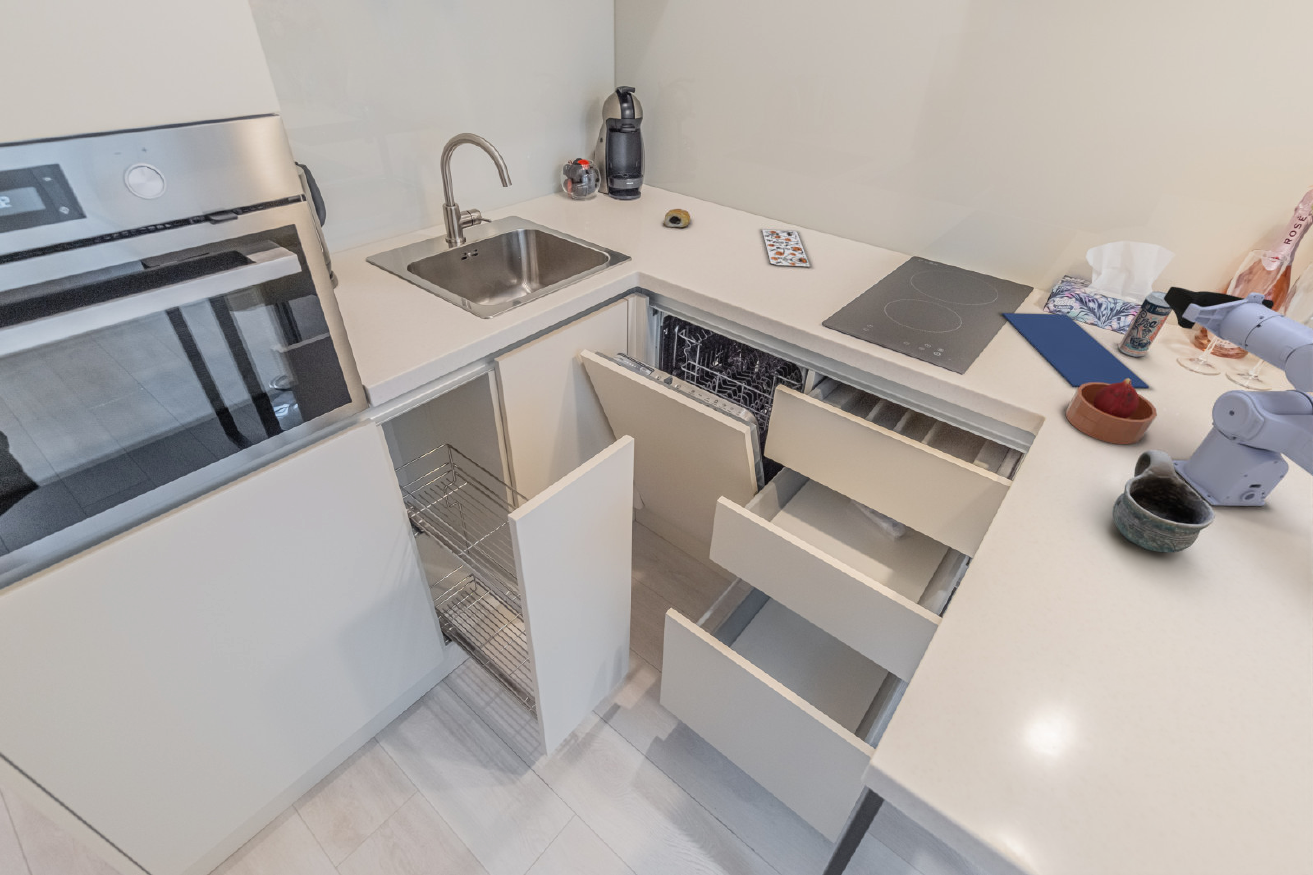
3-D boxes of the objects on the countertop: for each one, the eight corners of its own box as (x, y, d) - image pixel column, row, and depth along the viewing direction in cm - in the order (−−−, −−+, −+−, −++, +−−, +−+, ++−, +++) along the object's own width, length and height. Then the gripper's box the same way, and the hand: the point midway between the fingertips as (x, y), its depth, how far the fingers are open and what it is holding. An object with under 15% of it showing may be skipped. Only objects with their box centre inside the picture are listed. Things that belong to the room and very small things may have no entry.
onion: (1130, 433, 100) (1156, 392, 95) (1092, 428, 101) (1116, 387, 96) (1117, 413, 105) (1141, 372, 100) (1080, 408, 106) (1102, 367, 101)
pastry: (670, 215, 176) (671, 201, 174) (693, 218, 175) (695, 204, 173) (662, 226, 169) (663, 212, 167) (686, 229, 168) (687, 215, 165)
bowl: (1158, 445, 99) (1173, 422, 96) (1088, 443, 99) (1102, 421, 96) (1116, 404, 108) (1129, 382, 105) (1052, 403, 107) (1063, 381, 105)
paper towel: (810, 266, 150) (771, 264, 150) (809, 266, 150) (771, 264, 150) (796, 230, 169) (762, 229, 169) (796, 231, 169) (762, 229, 169)
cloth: (1148, 388, 112) (1149, 386, 112) (1072, 386, 112) (1073, 384, 112) (1065, 316, 134) (1066, 314, 134) (1002, 314, 134) (1002, 313, 134)
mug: (1125, 563, 79) (1168, 506, 73) (1075, 495, 89) (1109, 440, 83) (1200, 566, 79) (1250, 510, 73) (1142, 498, 89) (1181, 443, 83)
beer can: (1117, 354, 122) (1149, 297, 115) (1116, 343, 125) (1147, 288, 118) (1145, 360, 120) (1180, 303, 113) (1143, 350, 124) (1177, 294, 116)
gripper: (1334, 313, 83) (1249, 276, 94) (1241, 301, 81) (1165, 264, 92) (1296, 360, 87) (1218, 319, 98) (1206, 349, 85) (1137, 309, 96)
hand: (1190, 295), depth 95 cm, fingers open, 7 cm apart
